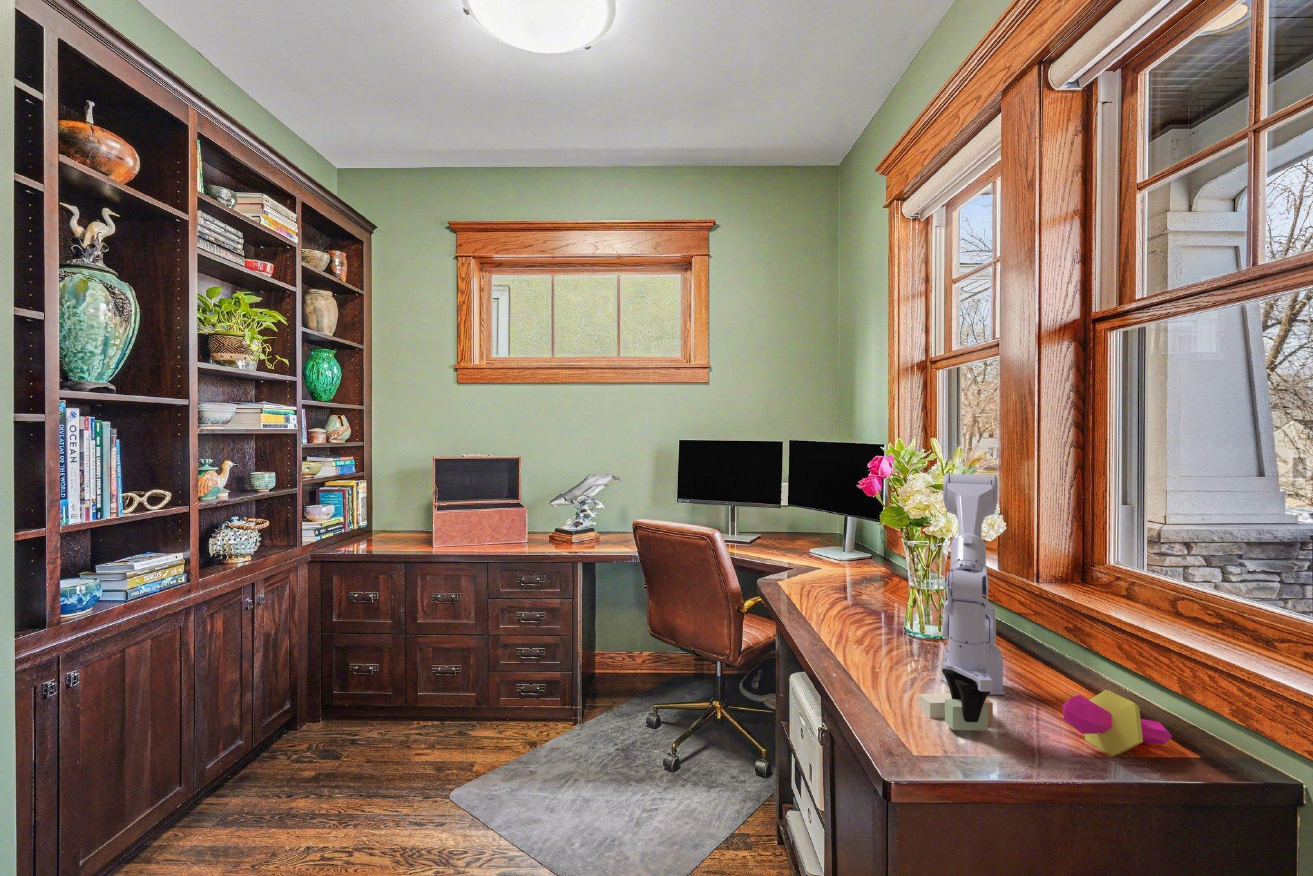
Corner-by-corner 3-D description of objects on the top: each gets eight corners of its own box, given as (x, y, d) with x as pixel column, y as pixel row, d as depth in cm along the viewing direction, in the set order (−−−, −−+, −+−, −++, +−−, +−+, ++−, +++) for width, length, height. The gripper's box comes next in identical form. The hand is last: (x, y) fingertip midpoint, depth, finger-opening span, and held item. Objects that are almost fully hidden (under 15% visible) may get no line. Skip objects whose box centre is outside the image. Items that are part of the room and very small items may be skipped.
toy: (1193, 772, 101) (1183, 702, 105) (1094, 745, 98) (1088, 675, 103) (1135, 768, 110) (1128, 704, 114) (1043, 742, 107) (1040, 678, 112)
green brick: (979, 722, 114) (979, 699, 114) (987, 730, 110) (988, 707, 110) (944, 721, 114) (945, 699, 114) (952, 729, 111) (952, 706, 111)
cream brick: (948, 709, 122) (948, 693, 122) (960, 718, 118) (961, 702, 118) (918, 710, 121) (918, 694, 121) (929, 719, 117) (930, 703, 117)
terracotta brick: (959, 710, 121) (960, 689, 121) (977, 711, 121) (977, 689, 121) (974, 724, 115) (974, 702, 115) (992, 725, 115) (992, 703, 115)
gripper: (927, 626, 119) (926, 698, 119) (962, 652, 105) (961, 735, 105) (965, 626, 119) (964, 699, 119) (1006, 653, 105) (1005, 736, 105)
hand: (966, 716), depth 112 cm, fingers closed on green brick, 3 cm apart
